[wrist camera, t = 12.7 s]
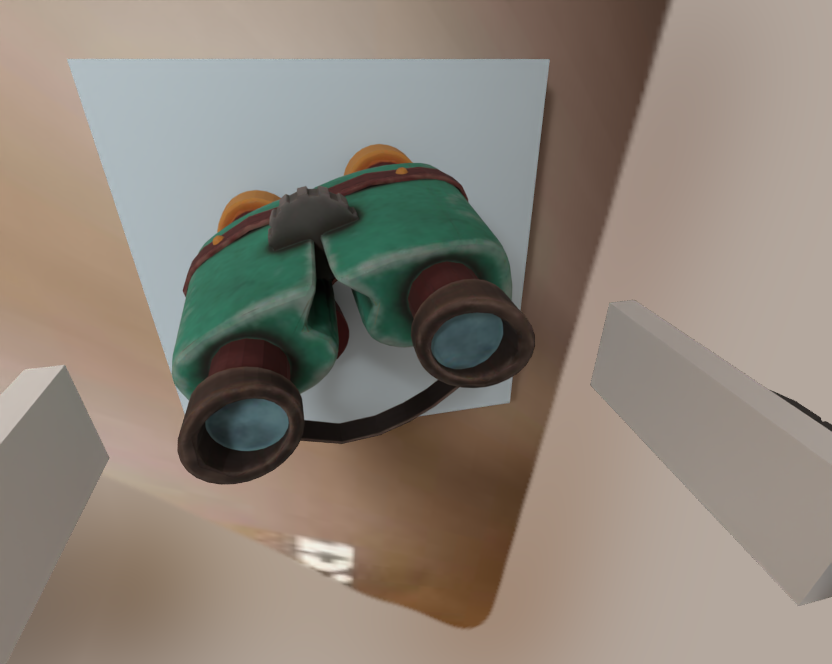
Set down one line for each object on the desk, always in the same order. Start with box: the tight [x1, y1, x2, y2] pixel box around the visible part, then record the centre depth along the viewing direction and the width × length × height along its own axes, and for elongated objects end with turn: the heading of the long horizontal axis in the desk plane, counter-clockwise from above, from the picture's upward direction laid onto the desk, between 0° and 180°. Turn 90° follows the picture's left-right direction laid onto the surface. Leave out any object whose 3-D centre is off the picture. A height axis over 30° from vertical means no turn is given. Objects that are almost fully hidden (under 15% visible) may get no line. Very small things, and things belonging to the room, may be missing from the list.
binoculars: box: [172, 144, 535, 484], centre depth 14 cm, size 9×11×10 cm
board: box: [67, 59, 550, 423], centre depth 18 cm, size 15×15×2 cm
